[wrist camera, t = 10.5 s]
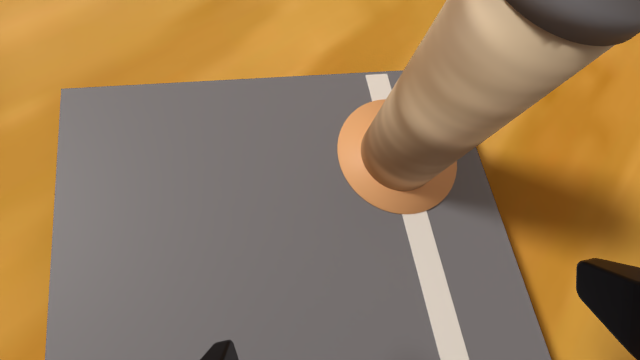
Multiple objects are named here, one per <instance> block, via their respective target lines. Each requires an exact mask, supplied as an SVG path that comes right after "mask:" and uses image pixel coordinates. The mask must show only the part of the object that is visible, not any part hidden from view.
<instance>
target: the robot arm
mask: <svg viewBox="0 0 640 360" xmlns="http://www.w3.org/2000/svg"><path fill="white" fill-rule="evenodd" d="M576 290H577V293H578V295H579V297H580V299H581V300H582V301H583V302H584V303H585V304H586V305H587V307H588V308H589V309H590V310H591V311H592V312H593V313H594V314H595V315H596V316H597V318H598V319H599V320H600V321H601V322H602V323H603V324H604V325H605V326H606V328H607V329H608V330H609V331H610V332H611V333H612V334H613V335H614V336H615V338H616V339H617V340H618V341H619V342H620V343H621V344H622V345H623V346H624V347H625V348H626V349H627V350H628V352H629V353H630V354H632V355H633V356H634V357H635V358H636V359H637V360H640V268H639V267H635V266H630V265H625V264H621V263H616V262H612V261H607V260H603V259H598V258H592V259H588V260H583V261H580V262H579V263H578V264H577V276H576ZM200 360H239V359H238V355H237V352H236V349H235V346H234V343H233V342H232V340H224V341H220V342H216V343H214V344H213V345H212V346H211V348H210V349H209V350H208V351H207V352H206V353H205V354H204V356H203V357H202V358H201V359H200Z"/></svg>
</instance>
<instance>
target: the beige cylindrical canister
mask: <svg viewBox="0 0 640 360" xmlns="http://www.w3.org/2000/svg"><path fill="white" fill-rule="evenodd" d="M639 32H640V0H447V1H446V2H445V4H444V6H443V7H442V9H441V10H440V12H439V14H438V15H437V17H436V19H435V20H434V22H433V23H432V25H431V27H430V28H429V30H428V32H427V33H426V35H425V36H424V38H423V40H422V41H421V43H420V45H419V46H418V48H417V50H416V51H415V53H414V54H413V56H412V58H411V59H410V61H409V63H408V64H407V66H406V67H405V69H404V71H403V72H402V74H401V76H400V77H399V79H398V81H397V82H396V84H395V85H394V87H393V89H392V90H391V92H390V94H389V95H388V97H387V98H386V100H385V102H384V103H383V105H382V107H381V108H380V110H379V112H378V113H377V115H376V116H375V118H374V120H373V121H372V123H371V125H370V126H369V128H368V129H367V131H366V133H365V134H364V136H363V139H362V142H361V157H362V161H363V164H364V166H365V168H366V169H367V171H368V172H369V174H370V175H371V176H372V177H373V178H374V179H375V180H376V181H377V182H379V183H380V184H382V185H383V186H385V187H387V188H390V189H393V190H397V191H411V190H415V189H417V188H420V187H421V186H423V185H424V184H426V183H427V182H428V181H430V180H431V179H433V178H434V177H435V176H437V175H438V174H439V173H441V172H442V171H443V170H445V169H446V168H448V167H449V166H450V165H452V164H453V163H454V162H456V161H457V160H458V159H460V158H461V157H463V156H464V155H465V154H467V153H468V152H469V151H471V150H472V149H473V148H475V147H476V146H478V145H479V144H480V143H482V142H483V141H484V140H486V139H487V138H489V137H490V136H491V135H493V134H494V133H495V132H497V131H498V130H499V129H501V128H502V127H504V126H505V125H506V124H508V123H509V122H510V121H512V120H513V119H514V118H516V117H517V116H519V115H520V114H521V113H523V112H524V111H525V110H527V109H528V108H529V107H531V106H532V105H534V104H535V103H536V102H538V101H539V100H540V99H542V98H543V97H544V96H546V95H547V94H549V93H550V92H551V91H553V90H554V89H555V88H557V87H558V86H560V85H561V84H562V83H564V82H565V81H566V80H568V79H569V78H570V77H572V76H573V75H575V74H576V73H577V72H579V71H580V70H581V69H583V68H584V67H585V66H587V65H588V64H590V63H591V62H592V61H594V60H595V59H596V58H598V57H599V56H600V55H602V54H603V53H605V52H606V51H607V50H609V49H610V48H611V47H613V46H614V45H616V44H620V43H623V42H625V41H627V40H629V39H631V38H632V37H634V36H635V35H636V34H638V33H639Z"/></svg>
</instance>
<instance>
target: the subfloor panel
mask: <svg viewBox="0 0 640 360" xmlns="http://www.w3.org/2000/svg"><path fill="white" fill-rule="evenodd" d="M402 72H403V71H386V72H368V73H349V74H331V75H312V76H293V77H275V78H256V79H237V80H219V81H200V82H181V83H163V84H144V85H125V86H107V87H88V88H69V89H61V103H60V120H59V136H58V153H57V170H56V186H55V203H54V220H53V236H52V253H51V269H50V286H49V303H48V319H47V336H46V353H45V360H200V359H201V358H202V357H203V356H204V354H205V353H206V352H207V351H208V350H209V349H210V348H211V346H212V345H213V344H214V343H216V342H220V341H224V340H232V342H233V343H234V346H235V349H236V352H237V355H238V359H239V360H551V357H550V354H549V352H548V349H547V346H546V343H545V340H544V337H543V335H542V332H541V329H540V326H539V323H538V321H537V318H536V315H535V312H534V309H533V306H532V304H531V301H530V298H529V295H528V292H527V290H526V287H525V284H524V281H523V278H522V275H521V273H520V270H519V267H518V264H517V261H516V259H515V256H514V253H513V250H512V247H511V244H510V242H509V239H508V236H507V233H506V230H505V228H504V225H503V222H502V219H501V216H500V213H499V211H498V208H497V205H496V202H495V199H494V197H493V194H492V191H491V188H490V185H489V182H488V180H487V177H486V174H485V171H484V168H483V166H482V163H481V160H480V157H479V154H478V151H477V149H476V147H475V148H473V149H472V150H471V151H469V152H468V153H467V154H465V155H464V156H463V157H461V158H460V159H458V160H457V161H456V162H454V163H453V164H452V165H450V166H449V167H448V168H446V169H445V170H443V171H442V172H441V173H439V174H438V175H437V176H435V177H434V178H433V179H431V180H430V181H428V182H427V183H426V184H424V185H423V186H421V187H420V188H417V189H415V190H411V191H397V190H393V189H390V188H387V187H385V186H383V185H382V184H380V183H379V182H377V181H376V180H375V179H374V178H373V177H372V176H371V175H370V174H369V172H368V171H367V169H366V168H365V166H364V164H363V161H362V157H361V142H362V139H363V136H364V134H365V133H366V131H367V129H368V128H369V126H370V125H371V123H372V121H373V120H374V118H375V116H376V115H377V113H378V112H379V110H380V108H381V107H382V105H383V103H384V102H385V100H386V98H387V97H388V95H389V94H390V92H391V90H392V89H393V87H394V85H395V84H396V82H397V81H398V79H399V77H400V76H401V74H402Z"/></svg>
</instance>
